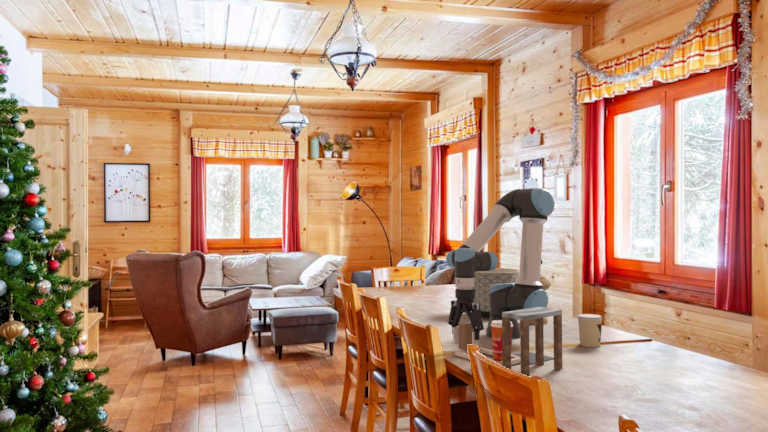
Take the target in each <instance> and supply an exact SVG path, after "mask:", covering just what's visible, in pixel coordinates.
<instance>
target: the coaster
mask: <svg viewBox="0 0 768 432" xmlns="http://www.w3.org/2000/svg"><path fill="white" fill-rule="evenodd" d="M513 355H514V356H518V357H521V352H519V353H515V354H513ZM553 360H554V357H552V356H551V357H550V356H547V355H544V362H549V361H553ZM529 362H530V366H531V365H536V355H535V353H534V352H530V351H529Z"/></svg>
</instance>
